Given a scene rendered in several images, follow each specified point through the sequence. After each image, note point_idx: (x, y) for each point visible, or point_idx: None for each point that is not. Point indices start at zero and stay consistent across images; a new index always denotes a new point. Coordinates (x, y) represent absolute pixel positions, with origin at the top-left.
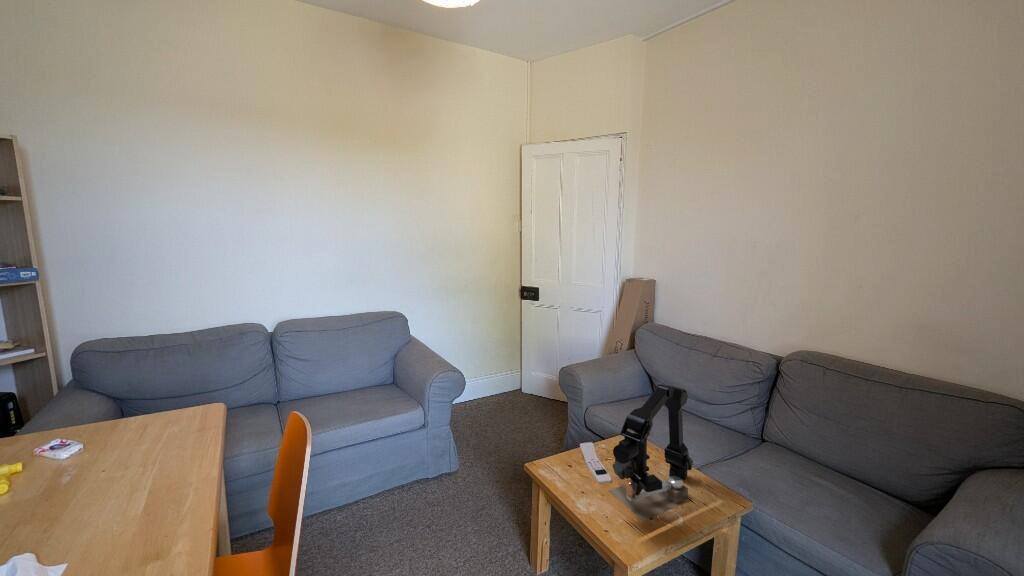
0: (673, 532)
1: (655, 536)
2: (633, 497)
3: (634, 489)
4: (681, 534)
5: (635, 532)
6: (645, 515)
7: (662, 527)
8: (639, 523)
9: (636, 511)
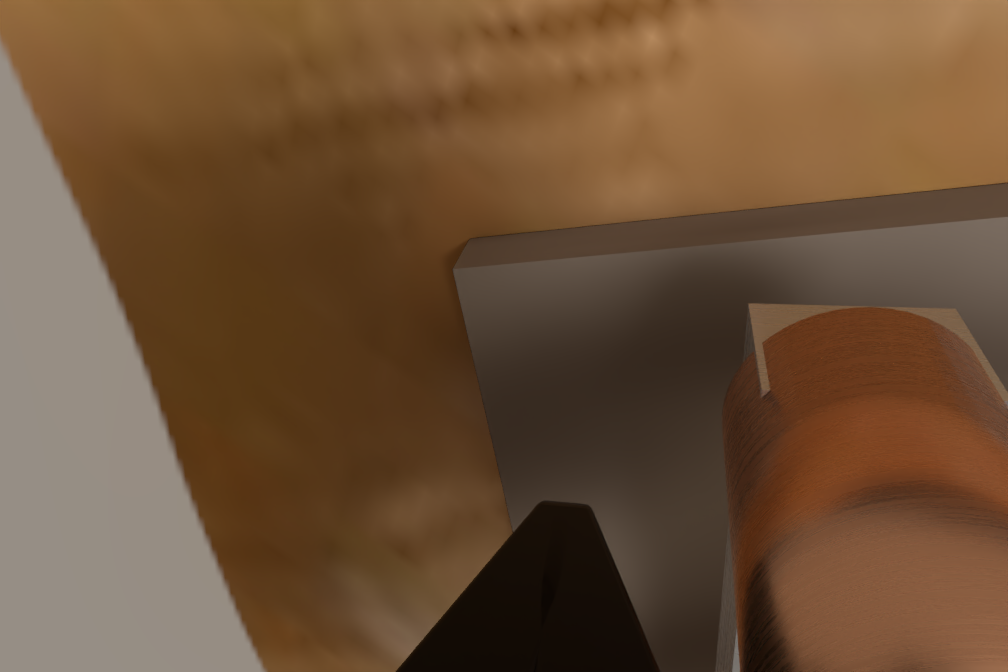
0: (256, 474)
1: (226, 243)
2: (726, 418)
3: (572, 635)
4: (214, 520)
5: (357, 4)
6: (558, 370)
7: (360, 426)
8: (523, 200)
9: (703, 304)
